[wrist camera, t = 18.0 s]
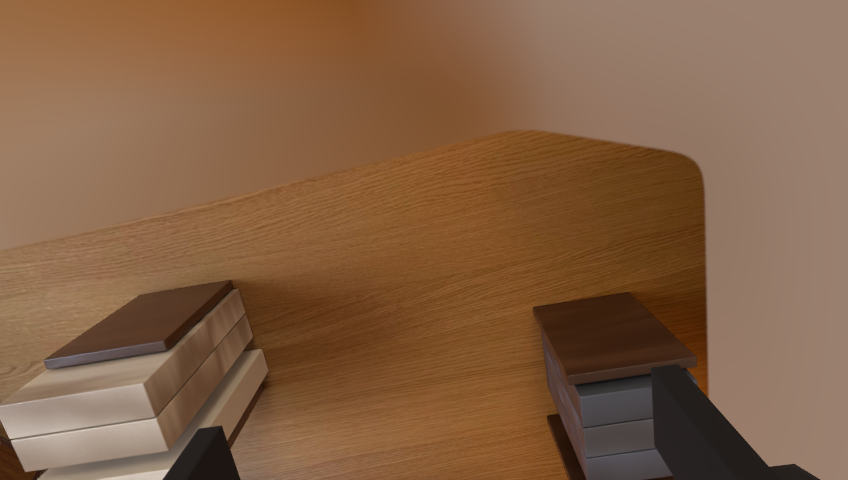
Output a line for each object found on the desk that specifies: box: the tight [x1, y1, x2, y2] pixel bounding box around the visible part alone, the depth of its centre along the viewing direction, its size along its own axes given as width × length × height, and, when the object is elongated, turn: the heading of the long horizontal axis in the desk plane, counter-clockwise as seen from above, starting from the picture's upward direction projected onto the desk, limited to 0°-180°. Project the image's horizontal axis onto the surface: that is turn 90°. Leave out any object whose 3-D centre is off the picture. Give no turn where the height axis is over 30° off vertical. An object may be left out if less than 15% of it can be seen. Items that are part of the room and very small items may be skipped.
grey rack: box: [533, 292, 697, 480], centre depth 41 cm, size 13×9×13 cm
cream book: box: [37, 349, 268, 480], centre depth 41 cm, size 2×11×16 cm, turn 100°
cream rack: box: [0, 280, 264, 472], centre depth 40 cm, size 12×10×16 cm
